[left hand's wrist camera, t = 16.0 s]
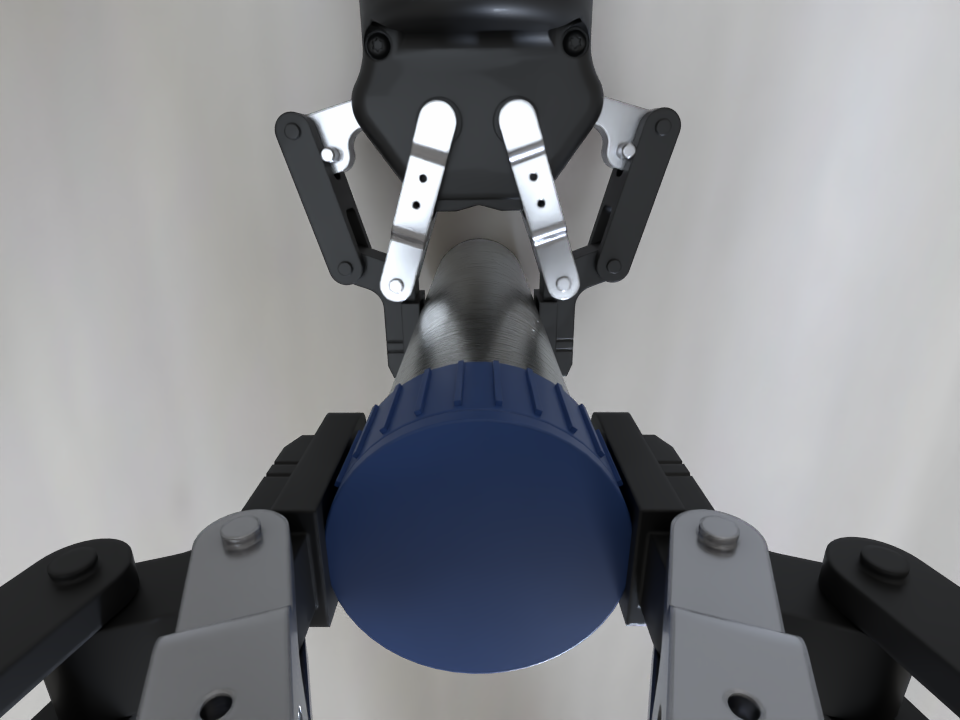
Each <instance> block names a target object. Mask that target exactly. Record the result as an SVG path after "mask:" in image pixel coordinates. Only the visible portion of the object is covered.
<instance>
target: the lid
mask: <svg viewBox="0 0 960 720" xmlns="http://www.w3.org/2000/svg"><path fill="white" fill-rule="evenodd" d="M622 485H623V483H622V480H621V478H620V476H619V473H618V471H617V469H616V467H615V464H614V462H613V460H612V458H611V455H610V453H609V451H608V448H607V446H606V444H605V442H604V439H603V437H602V435H601V432H600V430H599V429H597V430H595V429H594V427H593V425H592V422H591V420H590V418H589V415H588V413H587V411H586V408H585V406H584V405H583V404H580V405H578V404H577V403H576V401H575V400H573V399H572V398H571V397H570V396H569V395H568V394H567V393H566V392H565V391H564V390H563V387H562V385H561V384H559V383H557V384H556V385H555V384H554V383H552V382H551V381H549V380H547V379H545V378H543V377H542V376H540V375H538V374H536V373H533V370H532V369H530V368H527V369H526V370H525V369H522V368H519V367H515V366H511V365H507V364H502V363H499V361H496V360H493V363H492V362H465V363H464V360H462V361H458V364H451V365H447V366H443V367H439V368H436V369H433V370H431V369H430V368H428V369H426V370H425V371H424V373H423V374H421V375H418V376H416V377H415V378H413V379H411V380H409V381H408V382H406V383H404V384H403V385H401V384H400V383H399V384H398V385H396V386H395V389H394V391H393V392H392V393H391V394H390V395H389V396H388V397H387V398H386V399H385V400H384V401H383V402H382V403H381V404H380V405H379V406H377V405H376V404H375V405H374V407H373V408H372V410H371V413H370V415H369V417H368V420H367V422H366V424H365V427H364V429H363V431H361V430H359V431H358V433H357V435H356V437H355V440H354V442H353V444H352V446H351V449H350V451H349V453H348V455H347V458H346V460H345V462H344V464H343V467H342V469H341V471H340V473H339V475H338V478H337V480H336V482H335V485H334V486H336V487H339V488H338V491H337V493H336V495H335V497H334V500H333V502H332V505H331V508H330V511H329V514H328V516H327V520H326V526H325V540H326V549H327V558H328V566H329V575H330V582H331V586H332V588H333V591H334V593H335V595H336V597H337V599H338V601H339V602H340V604H341V605H342V607H343V608H344V610H345V611H346V613H347V614H348V615H349V617H350V618H351V619H352V620H353V621H354V622H355V623H356V625H357V626H358V627H359V628H360V629H361V630H363V631H364V632H365V633H366V634H367V635H368V636H369V637H370V638H372V639H373V640H374V641H376V642H377V643H379V644H380V645H382V646H383V647H385V648H386V649H388V650H390V651H392V652H393V653H395V654H397V655H399V656H401V657H403V658H406V659H408V660H410V661H413V662H415V663H418V664H421V665H425V666H428V667H431V668H435V669H440V670H445V671H450V672H458V673H470V674H487V673H499V672H508V671H513V670H518V669H523V668H527V667H530V666H534V665H537V664H540V663H543V662H546V661H548V660H550V659H552V658H555V657H557V656H559V655H561V654H563V653H565V652H566V651H568V650H570V649H572V648H573V647H575V646H577V645H578V644H579V643H581V642H582V641H583V640H585V639H586V638H587V637H589V636H590V635H591V634H592V633H593V632H594V631H595V630H596V629H598V628H599V627H600V626H601V625H602V624H603V623H604V621H605V620H606V619H607V618H608V616H609V615H610V614H611V613H612V612H613V610H614V609H615V607H616V605H617V604H618V602H619V600H620V599H621V597H622V595H623V593H624V590H625V586H626V579H627V570H628V561H629V552H630V544H631V535H632V522H631V517H630V513H629V511H628V508H627V506H626V503H625V501H624V498H623V496H622V494H621V491H620V489H619V486H622Z"/></svg>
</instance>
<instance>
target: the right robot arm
mask: <svg viewBox="0 0 960 720" xmlns="http://www.w3.org/2000/svg"><path fill="white" fill-rule="evenodd" d="M359 2H360V15H361V29H362V42H363V59H362V65H361V70H360V73H359V76H358V79H357V81H356V83H355V85H354V88H353V91H352V98H351V100H350V101H347V102H344V103H341V104H338V105H335V106H332V107H329V108H326V109H323V110H320V111H317V112H314V113H311V114H308V115H304V114H300V113H296V112H286V113H284V114H282V115H281V116H280V117H279V118H278V119H277V121H276V124H275V134H276V137H277V140H278V143H279V145H280V148H281V150H282V153H283V155H284V158H285V160H286V163H287V165H288V168H289V170H290V173H291V176H292V178H293V181H294V183H295V186H296V188H297V191H298V193H299V196H300V198H301V201H302V203H303V206H304V209H305V211H306V214H307V216H308V219H309V221H310V224H311V226H312V229H313V231H314V234H315V236H316V239H317V242H318V244H319V247H320V249H321V252H322V254H323V257H324V259H325V262H326V264H327V267H328V269H329V272H330V274H331V276H332V278H333V279H334V280H335V281H336V282H338V283H340V284H343V285H351V284H354V285H357V286H360V287H363V288H366V289H369V290H372V291H373V292H375V293H376V294H377V295H378V296H379V297H380V298H381V300H382V302H383V305H384V315H385V328H386V341H387V355H388V366H389V368H390V370H391V372H392V374H393V376H394V378H396V376H397V373H398V370H399V368H400V365H401V363H402V360H403V357H404V355H405V352H406V350H407V347H408V344H409V342H410V339H411V337H412V334H413V331H414V329H415V326H416V324H417V321H418V318H419V316H420V313H421V311H422V308H423V305H424V303H425V290H419V276H420V272H421V269H422V265H423V261H424V258H425V254H426V251H427V247H428V243H429V240H430V236H431V233H432V230H433V227H434V224H435V220H436V216H437V213H438V211H459V210H462V209H466V208H469V207H473V206H476V205H482V206H486V207H489V208H493V209H497V210H501V211H512V210H520V211H521V214H522V218H523V221H524V224H525V227H526V230H527V233H528V236H529V239H530V242H531V245H532V249H533V252H534V255H535V259H536V262H537V265H538V269H539V272H540V289H534V302H535V305H536V308H537V310H538V313H539V315H540V318H541V321H542V323H543V326H544V329H545V331H546V334H547V337H548V339H549V342H550V345H551V347H552V350H553V353H554V355H555V358H556V360H557V363H558V366H559V368H560V371H561V374H562V376H567V374H568V372H569V370H570V368H571V366H572V357H573V336H574V314H575V303H576V300H577V297H578V296H579V294H580V293H581V292H582V291H583V290H585V289H586V288H589V287H591V286H594V285H596V284H599V283H602V282H605V281H607V282H618V281H620V280H622V279H623V278H625V276H626V275H627V274H628V272H629V270H630V267H631V264H632V262H633V259H634V256H635V253H636V251H637V248H638V245H639V242H640V240H641V237H642V234H643V231H644V229H645V226H646V223H647V220H648V218H649V215H650V212H651V209H652V207H653V204H654V201H655V198H656V196H657V193H658V190H659V187H660V185H661V182H662V179H663V176H664V174H665V171H666V168H667V166H668V163H669V160H670V157H671V155H672V152H673V149H674V146H675V144H676V141H677V138H678V135H679V133H680V129H681V121H680V118H679V116H678V114H677V113H676V112H675V111H674V110H672V109H670V108H665V107H664V108H656V109H652V110H647V109H644V108H641V107H637V106H634V105H631V104H627V103H624V102H621V101H618V100H614V99H611V98H608V97H604V95H603V89H602V85H601V83H600V80H599V78H598V76H597V74H596V72H595V69H594V66H593V62H592V56H591V25H592V5H593V0H359ZM593 127H594V128H596V129H597V130H598V131H599V133H600V134H601V137H602V141H603V145H602V151H601V155H602V159H603V161H604V163H605V164H606V165H607V166H608V167H610V168H613V170H612V173H611V176H610V179H609V182H608V185H607V188H606V191H605V194H604V197H603V200H602V203H601V206H600V210H599V213H598V216H597V219H596V222H595V225H594V228H593V231H592V234H591V237H590V240H589V243H588V246H585V247H583V248H580V249H577V250H575V251H572V250H571V247H570V243H569V240H568V236H567V228H566V223H565V219H564V216H563V212H562V209H561V205H560V201H559V198H558V194H557V191H556V187H555V183H554V181H555V180H556V178H557V177H558V175H559V174H560V173H561V171H562V170H563V168H564V167H565V166H566V164H567V163H568V161H569V160H570V159H571V157H572V156H573V154H574V153H575V152H576V150H577V149H578V147H579V146H580V145H581V143H582V142H583V140H584V139H585V138H586V136H587V135H588V134H589V132H590V131H591V129H592V128H593ZM362 130H363V131H364V133H365V134H366V135H367V137H368V138H369V139H370V141H371V142H372V143H373V145H374V146H375V147H376V149H377V150H378V151H379V153H380V154H381V155H382V157H383V158H384V159H385V160H386V162H387V163H388V164H389V166H390V167H391V168H392V170H393V171H394V172H395V174H396V175H397V176H398V178H399V179H400V180H401V182H402V183H403V185H402V189H401V193H400V197H399V201H398V205H397V209H396V213H395V217H394V221H393V226H392V231H391V240H390V244H389V248H388V252H387V254H386V253H383V252H380V251H377V250H374V249H372V248H371V245H370V242H369V240H368V237H367V234H366V231H365V228H364V226H363V223H362V220H361V217H360V215H359V212H358V209H357V206H356V204H355V201H354V198H353V195H352V193H351V190H350V187H349V184H348V182H347V179H346V176H345V173H344V172H346V171H348V170H350V169H351V168H352V166H353V164H354V162H355V151H354V141H355V138H356V136H357V135H358V134H359V133H360V132H361V131H362Z"/></svg>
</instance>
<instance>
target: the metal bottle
mask: <svg viewBox="0 0 960 720" xmlns="http://www.w3.org/2000/svg"><path fill="white" fill-rule="evenodd" d="M462 360H464V363H465V362H492V363H493V360H496V361H499V363H502V364H507V365H511V366H515V367H519V368H522V369H525V370H526V369H527V368H530V369H532V370H533V373H536V374H538V375H540V376H542V377H543V378H545V379H547V380H549V381H551V382H552V383H554V384H555V385H556V384H557V383H559V384H561V385H562V387H563V390H564V391H565V392H566V393H567V394H568V395H569V392H568V390H567V387H566V384H565V382H564V379H563V376H562V374H561V371H560V368H559V366H558V363H557V360H556V358H555V355H554V353H553V350H552V347H551V345H550V342H549V339H548V337H547V334H546V331H545V329H544V326H543V323H542V321H541V318H540V315H539V313H538V310H537V308H536V305H535V302H534V300H533V297H532V294H531V292H530V289H529V286H528V284H527V281H526V278H525V276H524V273H523V270H522V268H521V265H520V263H519V261H518V260H517V258H516V257H515V256H514V254H513V253H512V252H511V251H510V250H509V249H508V248H506V247H505V246H503V245H502V244H500V243H497V242H495V241H492V240H487V239H472V240H468V241H465V242H462V243H460V244H458V245H456V246H455V247H453V248H452V249H451V250H450V251H449V252H448V253H447V254H446V255H445V256H444V257H443V259H442V261H441V262H440V264H439V267H438V269H437V272H436V274H435V277H434V279H433V282H432V285H431V287H430V290H429V292H428V295H427V298H426V300H425V303H424V305H423V308H422V311H421V313H420V316H419V318H418V321H417V324H416V326H415V329H414V331H413V334H412V337H411V339H410V342H409V344H408V347H407V350H406V352H405V355H404V357H403V360H402V363H401V365H400V368H399V370H398V373H397V376H396V378H395V381H394V383H393V386H392V389H391V391H390V394H391V393H392V392H393V391H394V389H395V386H396V385H398V384H399V383H400V384H401V385H403V384H404V383H406V382H408V381H409V380H411V379H413V378H415V377H416V376H418V375H421V374H423V373H424V371H425V370H426V369H428V368H430V369H431V370H433V369H436V368H439V367H443V366H447V365H451V364H458V361H462ZM390 394H389V395H390ZM569 396H570V395H569Z"/></svg>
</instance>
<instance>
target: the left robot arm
mask: <svg viewBox="0 0 960 720" xmlns="http://www.w3.org/2000/svg"><path fill="white" fill-rule="evenodd" d="M591 422H592V425H593V427H594V429H595V430H597V429H599V430H600V432H601V435H602V437H603V439H604V442H605V444H606V446H607V448H608V451H609V453H610V455H611V458H612V460H613V462H614V464H615V467H616V469H617V471H618V473H619V476H620V478H621V480H622V483H623V485H622V486H619V489H620V491H621V494H622V496H623V498H624V501H625V503H626V506H627V508H628V511H629V513H630V517H631V522H632V535H631V544H630V552H629V561H628V570H627V579H626V586H625V590H624V593H623V595H622V597H621V599H620V600H619V604H620V607H621V611H622V614H623V617H624V620H625V623H626V626H647V628H648V630H649V633H650V636H651V639H652V642H653V644H654V647H653V654H652V664H651V678H650V691H649V705H648V719H647V720H929V719H928V718H927V717H926V716H925V715H923V714H922V713H921V712H920V711H919V710H918V709H917V708H916V707H915V706H914V705H913V704H912V703H911V702H910V701H909V700H907V699H906V698H905V697H904V695H905V692H906V690H907V687H908V684H909V681H910V679H911V676H913V677H914V678H915V679H917V680H918V681H919V682H920V683H921V684H922V685H923V686H924V687H926V688H927V689H928V690H929V691H930V692H931V693H932V694H933V695H935V696H936V697H937V698H938V699H939V700H940V701H941V702H942V703H944V704H945V705H946V706H947V707H948V708H949V709H950V710H951V711H953V712H954V713H955V714H956V715H957V716H958V717H959V718H960V587H959V586H957V585H956V584H955V583H953V582H952V581H950V580H949V579H947V578H946V577H944V576H943V575H941V574H940V573H938V572H937V571H936V570H934V569H933V568H931V567H930V566H928V565H927V564H925V563H924V562H922V561H921V560H919V559H918V558H916V557H914V556H913V555H911V554H909V553H907V552H905V551H904V550H901V549H899V548H897V547H894V546H892V545H889V544H886V543H883V542H880V541H876V540H872V539H867V538H860V537H844V538H839V539H836V540H834V541H832V542H830V543H829V544H828V546H827V548H826V551H825V555H824V559H823V563H821V562H817V561H812V560H807V559H802V558H797V557H793V556H788V555H783V554H779V553H775V552H771V551H768V546H767V543H766V541H765V539H764V538H763V536H762V535H761V534H760V533H759V531H758V530H756V529H755V528H754V527H753V526H751V525H750V524H748V523H747V522H745V521H743V520H741V519H740V518H737V517H735V516H733V515H730V514H727V513H724V512H719V511H715V510H714V508H713V507H712V505H711V504H710V502H709V501H708V499H707V498H706V496H705V495H704V493H703V492H702V490H701V489H700V487H699V486H698V484H697V483H696V481H695V480H694V478H693V477H692V476H690V472H689V471H688V469H687V468H686V466H685V465H684V464H682V460H681V459H680V457H679V456H678V454H677V453H676V451H675V450H674V448H673V447H672V446H670V445H669V444H667V443H666V442H665V441H663V440H662V439H660V438H659V437H657V436H656V435H642V434H641V432H640V430H639V428H638V427H637V425H636V423H635V422H634V420H633V418H632V416H631V415H630V413H628V412H594V413H593V414H592V418H591ZM365 424H366V418H365V415H364V413H328V414H327V415H326V417H325V418H324V420H323V422H322V423H321V425H320V427H319V428H318V430H317V432H316V433H315V435H302V436H300V437H299V438H297V439H296V440H294V441H293V442H292V443H290V444H289V445H287V446H286V447H284V448H283V450H282V451H281V453H280V454H279V456H278V457H277V459H276V460H275V463H274V465H272V466H271V468H270V469H269V471H268V472H267V474H266V477H264V478H263V479H262V481H261V482H260V484H259V485H258V487H257V488H256V490H255V491H254V493H253V494H252V496H251V497H250V499H249V500H248V502H247V503H246V505H245V506H244V508H243V509H242V511H241V512H236V513H233V514H230V515H227V516H225V517H223V518H220V519H219V520H217V521H215V522H213V523H212V524H210V525H209V526H207V527H206V528H205V529H204V530H202V531H201V533H200V534H199V535H198V536H197V538H196V539H195V541H194V543H193V546H192V550H190V551H187V552H184V553H180V554H176V555H172V556H167V557H162V558H158V559H153V560H148V561H143V562H138V563H135V561H134V557H133V554H132V550H131V548H130V546H129V545H128V544H127V543H125V542H123V541H120V540H117V539H94V540H89V541H84V542H80V543H76V544H73V545H70V546H67V547H65V548H62V549H60V550H58V551H55V552H53V553H51V554H50V555H48V556H46V557H44V558H43V559H41V560H39V561H38V562H36V563H35V564H33V565H32V566H30V567H29V568H27V569H26V570H24V571H23V572H22V573H20V574H19V575H17V576H16V577H14V578H13V579H11V580H10V581H8V582H7V583H5V584H4V585H2V586H1V587H0V718H1V717H2V716H3V715H4V714H5V713H6V712H7V711H9V710H10V709H11V708H12V707H13V706H14V705H15V704H16V703H18V702H19V701H20V700H21V699H22V698H23V697H24V696H25V695H27V694H28V693H29V692H30V691H31V690H32V689H33V688H34V687H36V686H37V685H38V684H39V683H40V682H41V681H42V680H43V679H44V682H45V685H46V688H47V690H48V693H49V696H50V698H51V701H50V702H49V703H48V704H47V705H46V706H45V707H44V708H43V709H42V710H41V711H40V712H39V713H38V714H37V715H35V716H34V717H33V718H32V719H31V720H313V719H312V705H311V692H310V678H309V664H308V654H307V647H306V640H305V636H306V634H307V631H308V628H309V627H330V625H331V622H332V619H333V616H334V612H335V609H336V606H337V603H338V599H337V597H336V595H335V593H334V591H333V588H332V586H331V582H330V575H329V566H328V558H327V549H326V540H325V526H326V520H327V516H328V514H329V511H330V508H331V505H332V502H333V500H334V497H335V495H336V493H337V491H338V488H339V487H336V486H334V485H335V482H336V480H337V478H338V475H339V473H340V471H341V469H342V467H343V464H344V462H345V460H346V458H347V455H348V453H349V451H350V449H351V446H352V444H353V442H354V440H355V437H356V435H357V433H358V431H359V430H361V431H363V429H364V427H365Z"/></svg>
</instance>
